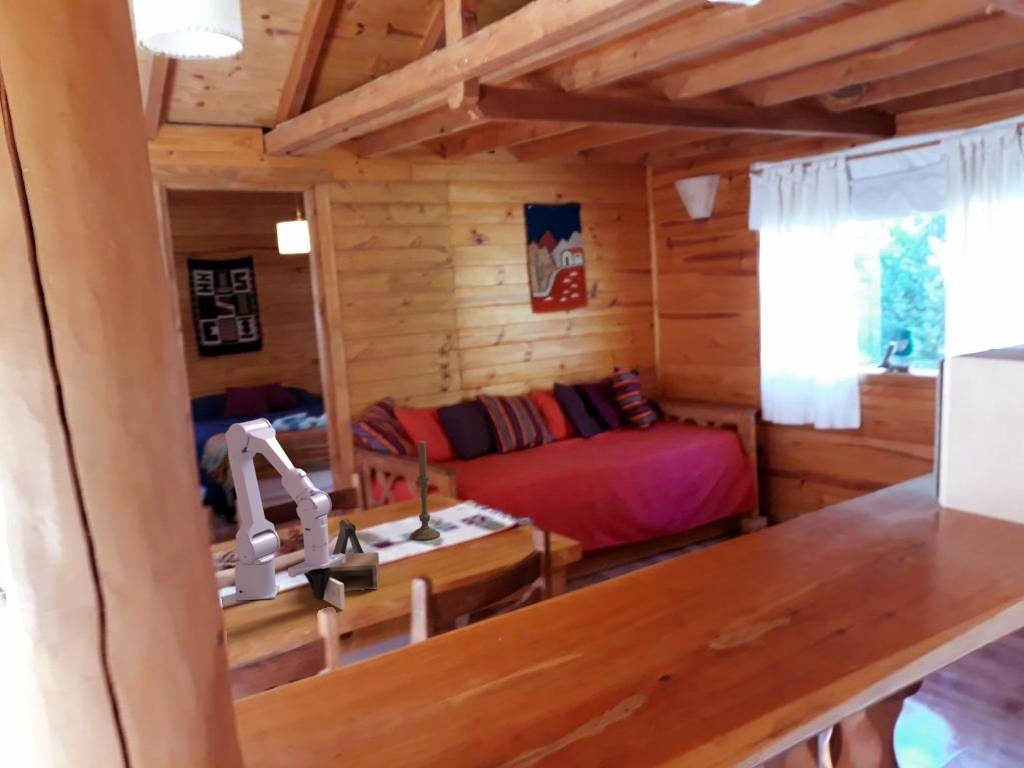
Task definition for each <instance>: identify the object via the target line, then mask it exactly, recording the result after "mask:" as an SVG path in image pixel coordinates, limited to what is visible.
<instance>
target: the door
mask: <svg viewBox="0 0 1024 768" xmlns="http://www.w3.org/2000/svg"><path fill="white" fill-rule="evenodd" d="M323 600H324V601H325V602H328V603H330V604H331V605H333V606H335V607H336V608H337V609H340V610H343V609H346V600H345V591H344V584H343V583H341V582H339V581H337V580H335V579H333V578H331V577H330V578H329V580H328V583H327V586H326V589H325V594H324V599H323Z"/></svg>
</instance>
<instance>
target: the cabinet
mask: <svg viewBox="0 0 1024 768" xmlns="http://www.w3.org/2000/svg"><path fill="white" fill-rule="evenodd" d="M379 554H380V553H379V552H376V551H375V552H364V553H355V554H354V553H345V554H344V555H345V563H338V564H335V565H332V566H329V568H330V569H332V574H331V576H330V577H331V578H333V579H335V580H337V581H339V582H341V583H343V584H344V592H352V591H351V590H362V589H374V588H377V587H378V588H379V583H378V581H380V574H381V573H380V555H379ZM330 555H331V554H329V556H330ZM349 590H350V591H349ZM362 591H363V590H362Z"/></svg>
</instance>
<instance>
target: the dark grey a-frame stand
mask: <svg viewBox="0 0 1024 768" xmlns="http://www.w3.org/2000/svg"><path fill="white" fill-rule="evenodd" d="M338 524H339V531H338V536H337V539H336V542H335V545H334V549H333V553H332V555H336V554H340V553H341V554H346V551H347V547H348V543H349V541H350V543H351V548H352V550H353V554H355V553H365V552H364V550H363V548H362V546H361V543H360V541H359V539H358V536H357V533H356V532H357V531H356V529H357V528H356V526H355V524H354V523H352V522H351V521H350V520H349V519H347V518H345V520H344V519H341V520H340V521H339V523H338Z"/></svg>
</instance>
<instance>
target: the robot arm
mask: <svg viewBox="0 0 1024 768" xmlns="http://www.w3.org/2000/svg"><path fill="white" fill-rule="evenodd" d="M276 435H277V434H276V429H275V428H274V427H273V426H272V424H271V423H270V422H269V420H268V419H267V418H264V417H260V418H258V419H253V420H250V421H249V420H248V421H245V422H240V423H238V422H236V423H233V424H231V425H230V427H229V428H228V430H226V432H225V434H224V437H225V440H226V445H227V450H228V452H227V453H228V461H229V466H230V470H231V474H232V479H233V480H232V481H233V485H234V489H235V494H236V499H237V503H238V509H239V513H240V518H241V522H242V524H241V526H240V528H239V530H238V531H237V533H236V534H235V539H236V547H235V552H236V555H237V557H238V559H239V560H238V561H236V562H235V565H234V585H235V601H252V600H269V599H275V598H276V596H277V593H278V592H279V590H280V588H281V586H280V585H276V582H277V581H276V570H275V567H276V566H275V557H276V556H277V552H278V551H279V550H280V547H281V540H280V537H279V535H278V533H277V531H276V530H275V525H274V523H272V522H270V521H269V520H268V519H266V517H265V513H264V508H263V502H262V498H261V493H260V488H259V484H258V479H257V475H256V470H255V465H254V460H253V458H254V457H255V455H256V453H258V454H262V455H263V456H264V458H265V459H266V460H267V461H268V462H269V463H270V464H271V465H272V466H273V467H274V469H275V470H276V471H277V472H278V473H279V474H280V475H281V485H282V486H283V487H284V489H285V490H286V492H287V493H288V494H289V495H290V497H291V499H292V500H293V501H294V503H296V505H297V507H296V509H295V510H296V514H297V516H298V517H299V520H300V524H301V527H302V530H303V533H302V534H303V535H302V536H303V549H304V550H303V551H304V553H303V554H304V561H302V562H300V563H298V564H296V565H293V566H290V567H288V568H287V573H288V577H290V578H292V579H293V578H296V577H297V576H300V575H304V576H305V578H306V579H307V581H308V583H309V585H310V588H311V591H312V594H313V596H314V599H316V600H318V601H321V600H324V594H325V589H326V586H327V583H328V580H329V578H330V576H331V574H332V569H330V568H329V566H332V565H335V564H338V563H345V555H344V554H341V553H340V554H336V555H333V554H330V547H329V546H330V545H329V528H328V527H329V524H328V514H329V513H330V512H331V511H332V507H333V505H332V504H333V503H332V500H331V497H330V496H329V494H328V492H325V491H322V490H320V489H319V488H316V486H315V485H314V483H312V481H311V480H310V479H309V477H308V476H307V473H306V472H305V471H304V470H303V469H301V468H296V467H294V465H293V463H292V462H291V460H290V459H289V457H288V456H287V454H286V453H285V451H284V450H283V448H282V446H281V445H280V443H279V442H278V440H277V439H276ZM329 555H330V556H329Z"/></svg>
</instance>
